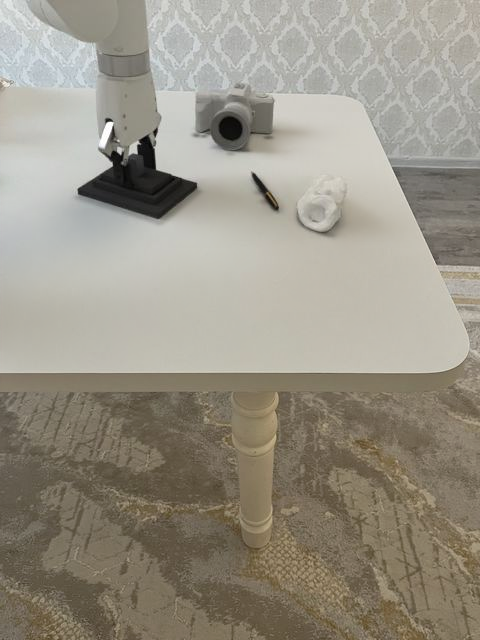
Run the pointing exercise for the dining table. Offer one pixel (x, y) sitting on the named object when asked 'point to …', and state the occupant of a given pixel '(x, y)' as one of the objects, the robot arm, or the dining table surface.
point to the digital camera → (233, 114)
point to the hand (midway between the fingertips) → (136, 176)
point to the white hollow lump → (322, 203)
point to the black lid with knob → (141, 176)
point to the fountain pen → (265, 191)
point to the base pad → (139, 195)
